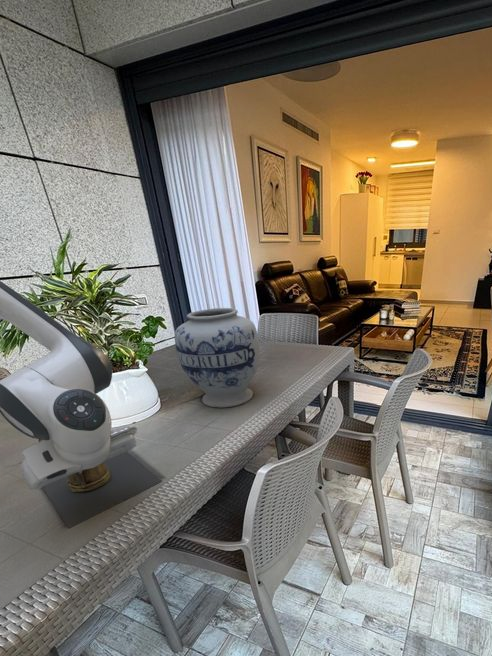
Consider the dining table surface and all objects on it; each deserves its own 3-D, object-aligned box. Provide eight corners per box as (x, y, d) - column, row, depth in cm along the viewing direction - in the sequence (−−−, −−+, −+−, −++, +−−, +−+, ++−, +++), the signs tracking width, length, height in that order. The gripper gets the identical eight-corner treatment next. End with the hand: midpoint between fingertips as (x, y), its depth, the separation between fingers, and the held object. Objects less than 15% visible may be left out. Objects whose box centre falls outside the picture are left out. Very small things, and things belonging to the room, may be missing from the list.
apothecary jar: (172, 406, 121) (148, 317, 107) (222, 379, 142) (207, 302, 128) (235, 419, 111) (218, 323, 96) (278, 388, 132) (270, 305, 117)
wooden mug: (57, 509, 77) (20, 439, 68) (76, 474, 88) (46, 409, 79) (102, 500, 79) (71, 431, 70) (115, 467, 90) (90, 403, 81)
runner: (68, 528, 72) (68, 527, 72) (34, 475, 88) (33, 474, 88) (162, 481, 84) (162, 480, 84) (116, 442, 101) (116, 442, 101)
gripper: (129, 412, 74) (125, 437, 85) (11, 454, 61) (23, 477, 72) (145, 437, 74) (138, 459, 85) (28, 484, 61) (38, 503, 72)
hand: (85, 468), depth 78 cm, fingers closed
